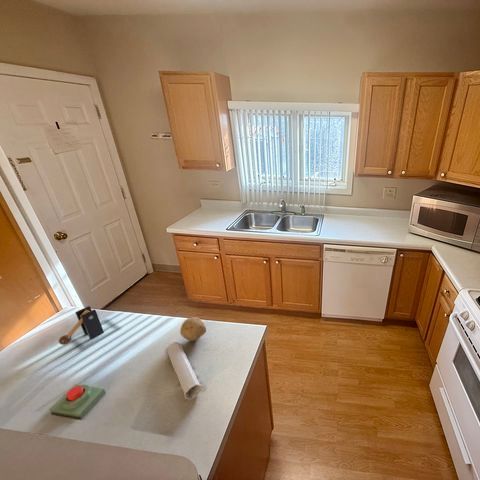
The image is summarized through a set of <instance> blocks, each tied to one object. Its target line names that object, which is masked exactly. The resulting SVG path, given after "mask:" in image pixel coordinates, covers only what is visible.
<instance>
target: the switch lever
mask: <svg viewBox="0 0 480 480" xmlns="http://www.w3.org/2000/svg"><path fill="white" fill-rule="evenodd" d="M88 312H90V311H88V310H85V311H84V312H83V313H82V314H81V315H83V314H86V313H88ZM81 315H80V317H81ZM82 323H83V321H82V318H81V319H80V320H78V321H77V322H76V324H75V325H74V326H73V327H72V328H71V329H70V331H69V332H68V333H67V334H64V335H62V336H60V337H59V339H58V343H59V345H62V346H65V345H69V344H70V343H71V342H72V340H73V339H72V336H73V335H75V332H76V331H77V330H78V329H79V328H80V327H81V324H82Z"/></svg>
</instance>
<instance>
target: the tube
mask: <svg viewBox="0 0 480 480" xmlns="http://www.w3.org/2000/svg"><path fill="white" fill-rule="evenodd" d="M166 352H167V355H168V358H169V360H170V362H171V365H172V368H173V369H174V372H175V374H176V377H177V380H178V381H179V383H180V387H181V389H182V391H183V396H184V398H185V399H186V400H190V401H191V400H193V399H194V398H196V397H198V396H199V395H200V393H201V392H202V391H203V386H202V384H201V383H200V382H199V380H198V378H197V375H196V374H195V371H194V369H193V367H192V365H191V363H190V361H189V359H188V357H187V355H186V353H185V350H184V349H183V346H182V345H181V343H180V342H177V341H174V342H171V343H169V345H168V346H167V347H166Z"/></svg>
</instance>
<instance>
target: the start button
mask: <svg viewBox="0 0 480 480" xmlns="http://www.w3.org/2000/svg"><path fill="white" fill-rule="evenodd" d="M73 387H74V386H73ZM71 388H72V387H71ZM71 388H70V389H69V390H67V392H66V393H67V394H66V393H65V394H66V396H67V398H68V400H69V401H74V400H76V399H78V398H80V397H81V396H82V395H83V393H84V390H83V388H82V387H81V386H76V387H74V388H72V389H71Z"/></svg>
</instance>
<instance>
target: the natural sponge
mask: <svg viewBox="0 0 480 480" xmlns="http://www.w3.org/2000/svg"><path fill="white" fill-rule="evenodd" d="M206 332H207V327H206V325H205V323H204V322H203V320H202V319H201V318H199V317H196V316H192V317H188V318H187V319H186V320H184V322H182V324H181V326H180V331H179V333H180V335H181V337H183V338H184V339H185V340H187V341H190V342H195V341H197V340H199V338H201V337H203V336H204V335H205V334H206Z"/></svg>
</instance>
